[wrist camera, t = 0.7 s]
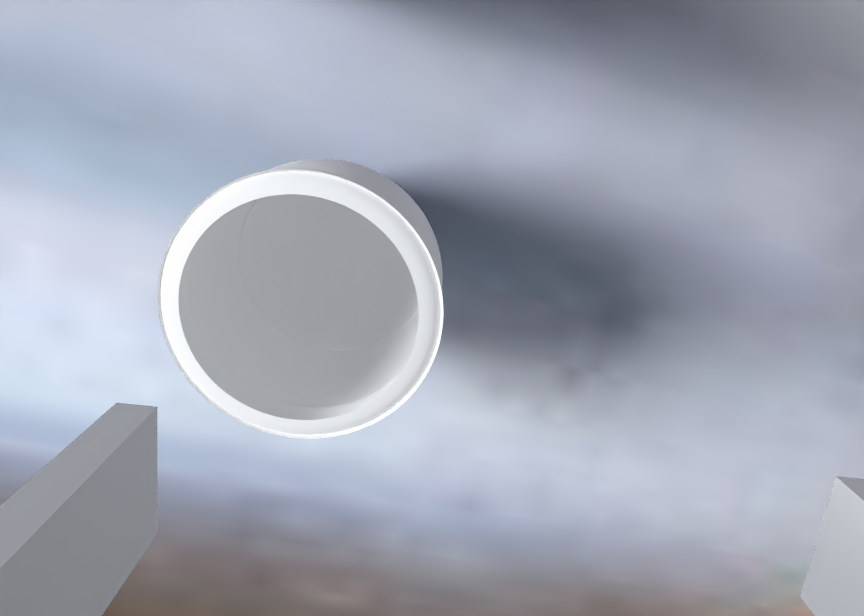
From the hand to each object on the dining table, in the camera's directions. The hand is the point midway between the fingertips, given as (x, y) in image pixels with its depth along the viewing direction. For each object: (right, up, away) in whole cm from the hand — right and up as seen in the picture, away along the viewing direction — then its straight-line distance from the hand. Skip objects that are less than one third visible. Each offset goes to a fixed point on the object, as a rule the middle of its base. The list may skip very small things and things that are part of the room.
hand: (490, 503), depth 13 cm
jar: (-6, +8, +26) cm, 28 cm away
